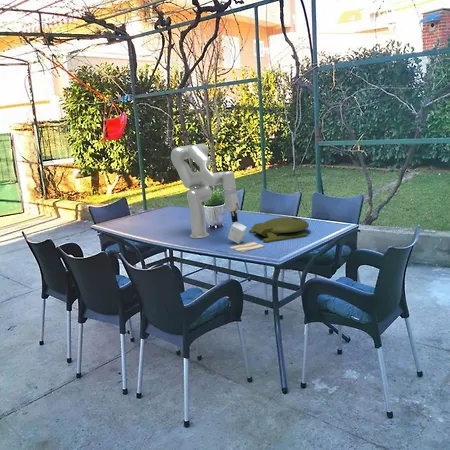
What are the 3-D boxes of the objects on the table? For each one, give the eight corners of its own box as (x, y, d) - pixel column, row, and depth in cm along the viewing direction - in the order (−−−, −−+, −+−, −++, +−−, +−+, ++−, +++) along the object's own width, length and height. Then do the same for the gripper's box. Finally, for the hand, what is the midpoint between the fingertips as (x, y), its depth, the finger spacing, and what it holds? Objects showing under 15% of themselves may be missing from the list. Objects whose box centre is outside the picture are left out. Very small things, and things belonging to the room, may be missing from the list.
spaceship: (264, 244, 283) (263, 228, 281) (248, 232, 312) (247, 218, 310) (317, 235, 292) (317, 220, 289) (297, 225, 321) (296, 211, 318)
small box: (242, 239, 289) (247, 226, 283) (238, 244, 285) (243, 231, 279) (231, 233, 291) (235, 220, 285) (227, 238, 287) (231, 225, 281)
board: (229, 247, 280) (229, 246, 279) (251, 242, 287) (251, 241, 287) (242, 252, 268) (241, 251, 268) (265, 246, 275) (265, 245, 275)
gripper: (218, 193, 288) (223, 222, 291) (231, 193, 275) (236, 224, 278) (229, 191, 291) (233, 220, 294) (242, 190, 279) (246, 221, 281)
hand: (235, 221), depth 286 cm, fingers closed
